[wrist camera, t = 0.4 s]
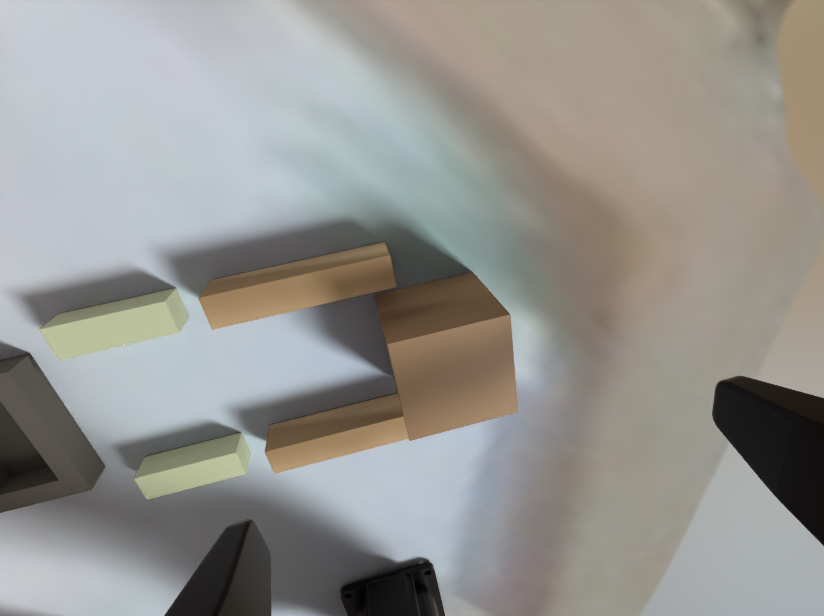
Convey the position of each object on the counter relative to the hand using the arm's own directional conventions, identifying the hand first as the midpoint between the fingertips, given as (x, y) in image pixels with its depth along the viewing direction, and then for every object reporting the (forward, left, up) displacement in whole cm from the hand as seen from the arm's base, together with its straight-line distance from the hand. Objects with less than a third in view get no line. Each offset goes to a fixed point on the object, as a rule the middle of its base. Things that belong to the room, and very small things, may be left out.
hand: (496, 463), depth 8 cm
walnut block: (-5, -1, -14) cm, 15 cm away
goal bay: (-5, +12, -14) cm, 19 cm away
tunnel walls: (-5, +4, -14) cm, 15 cm away
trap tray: (-5, +19, -14) cm, 24 cm away
